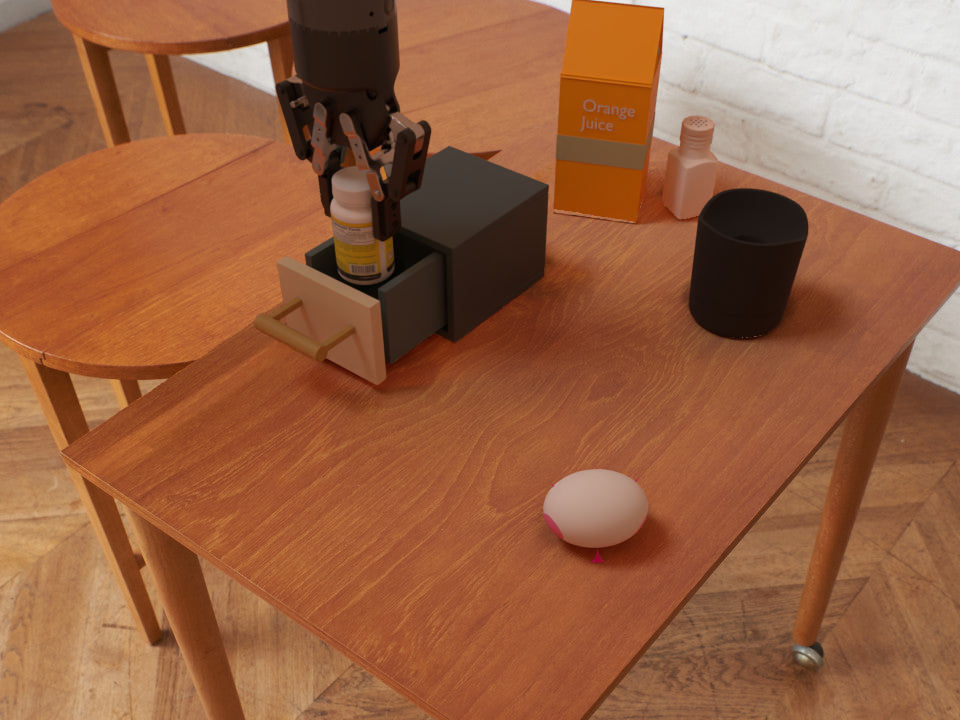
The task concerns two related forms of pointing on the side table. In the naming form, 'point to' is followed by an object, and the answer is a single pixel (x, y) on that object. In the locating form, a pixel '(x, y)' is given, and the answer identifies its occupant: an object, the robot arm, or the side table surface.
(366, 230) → the supplement bottle
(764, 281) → the pen holder
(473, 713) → the side table surface
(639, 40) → the orange juice
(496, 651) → the side table surface
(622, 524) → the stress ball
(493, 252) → the cabinet
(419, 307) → the drawer
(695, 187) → the pepper shaker
